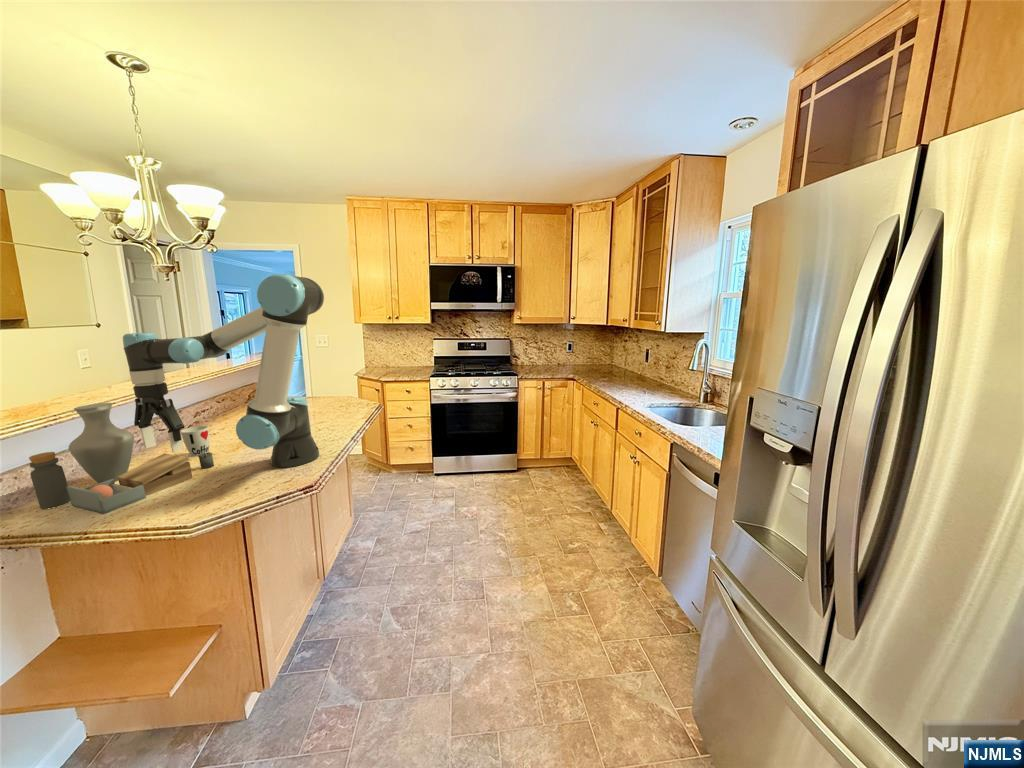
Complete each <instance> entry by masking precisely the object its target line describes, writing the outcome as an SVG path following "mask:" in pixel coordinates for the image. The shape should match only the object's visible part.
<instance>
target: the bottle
mask: <svg viewBox="0 0 1024 768" xmlns="http://www.w3.org/2000/svg"><path fill="white" fill-rule="evenodd" d="M28 459H29V460H30V463H29V466H30V468H33V470H32V471H31V472H30V474H29V475H30V478H31V481H32V485H33V489H34V492H35V495H36V499H37V502H38V504H39V507H40V509H41V510H49V509H48V508H50V509H54V508H53V507H55V508H58V506H59V507H61V506H64V505H67V504H69V503H71V501H70V497H69V494H68V490H67V486H69V485H68V481H67V479H66V475H65V471H64V468H63V465H59V464H57V463H58V462H59V458H58V457H56V452H54V451H50V452H49V451H48V452H46V451H45V452H41V453H38V454H37V453H36V454H34V455H30V456H29V457H28Z"/></svg>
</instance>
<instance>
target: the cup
mask: <svg viewBox="0 0 1024 768" xmlns="http://www.w3.org/2000/svg"><path fill="white" fill-rule="evenodd" d="M209 427H210V426H208V425H197V426H192V427H187V428H183V429H181V430H180V434H181V438H182V442H183V444H184V446H185V448H186V450H187V451H188V453H189V455H190V456H191V457H198V456H199V455H200V454H203V453H208V452H209V450H210V445H211V444H210V440H211V439H210V438H211V437H210V436H211V435H210V428H209Z"/></svg>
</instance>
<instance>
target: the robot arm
mask: <svg viewBox="0 0 1024 768" xmlns="http://www.w3.org/2000/svg"><path fill="white" fill-rule="evenodd" d="M256 298H257V302H258V303H259V306H260V307H257V308H256V309H253V310H251V311H250V312H248V313H246V314H244V315H241V316H240V317H237V318H235V319H234V320H232V321H229V322H227V323H225V324H224V325H222V326H219V327H218V328H215V329H213V330H211V331H210V332H207V333H205V334H203V335H197V336H189V337H179V338H178V337H177V338H176V337H175V338H158V337H157V334H156V333H155V332H135V333H133V332H132V333H131V332H130V333H125V334H123V336H122V343H123V344H122V345H123V350H124V353H125V356H126V361H127V364H128V369H129V371H128V372H129V375H130V376H129V377H130V380H131V383H132V385H133V387H132V388H133V392H134V396H135V399H134V401H135V411H134V422H133V424H134V426H135V427H136V426H138V428H139V429H140V433H141V436H142V441H143V445H144V449H149V448H152V447H156V446H157V442H156V438H155V434H154V429H153V424H152V421H153V417H154V415H155V416H156V417H157V416H158V417H159V418H160V420H161V421H162V423H164V425H165V426H166V427H167V429H168V431H167V433H168V434H167V435H168V438H169V443H170V447H171V452H172V453H176V452H179V451H183V450H184V442H183V438H182V434H181V431H182V430H183V429H186V427H185V424H184V422H183V420H182V418H181V416H180V414H179V413H178V410H177V409H176V407H175V404H174V403H173V399H172V398H168V399H165V396H166V395H168V394H169V389H168V385H167V383H166V382H165V381H166V376H165V373H166V372H165V370H164V366H163V365H164V364H191V363H198V362H199V361H200V360H207V359H211V358H212V359H214V358H219V357H221V356H224V355H226V354H227V353H228V352H229V350H231V349H234V348H236V347H237V346H240V345H241V344H244V343H246V342H248V341H250V340H252V339H254V338H256V337H258V336H260V335H262V334H264V333H265V335H264V341H263V347H262V352H261V353H262V354H261V358H260V363H259V371H258V377H257V383H256V389H255V395H254V398H252V399H251V400H249V401H248V402H247V406H246V413H245V415H243V416H242V417H240V419H239V420H238V422H236V425H235V434H236V436H237V438H238V439H239V441H241V443H242V444H244V445H245V446H246V447H247V448H250V449H253V450H260V451H261V450H266V449H269V448H271V447H272V451H271V452H272V453H271V456H270V461H271V462H270V463H271V465H272V466H273V467H275V468H291V467H292V468H293V467H297V466H302V465H305V464H308V463H311V462H313V461H315V460H316V459H318V458H319V457H320V449H319V447H318V445H317V444H316V442H315V440H314V438H313V436H312V432H311V424H310V416H309V405H308V403H307V398H306V397H305V396H301V395H300V396H298V395H297V396H296V395H295V396H289V391H290V386H291V381H292V374H293V370H294V369H293V368H294V363H295V359H296V351H297V346H298V341H299V336H300V331H301V329H302V328H304V327H306V326H307V324H308V318H309V316H310V315H312V314H315V313H317V312H318V311H319V310H320V309H321V308H322V307H323V305H324V300H325V295H324V292H323V290H322V288H321V286H320V285H319V284H318V283H317V282H316V281H314V280H312V279H311V278H308V277H304V276H297V275H296V276H295V275H292V274H287V273H284V274H283V273H282V274H281V273H277V274H271V275H269V276H267V277H266V278H264V279H263V280H262V281H261V282H260V283H259V285H258V287H257V291H256Z"/></svg>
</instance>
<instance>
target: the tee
mask: <svg viewBox="0 0 1024 768" xmlns="http://www.w3.org/2000/svg"><path fill="white" fill-rule="evenodd" d="M197 458H198V460H199V465H200V469H201V470H208V469H211V468H213V467H215V463H214V458H213V452H209V451H208V453H203V454H200V455H199V456H197Z"/></svg>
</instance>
